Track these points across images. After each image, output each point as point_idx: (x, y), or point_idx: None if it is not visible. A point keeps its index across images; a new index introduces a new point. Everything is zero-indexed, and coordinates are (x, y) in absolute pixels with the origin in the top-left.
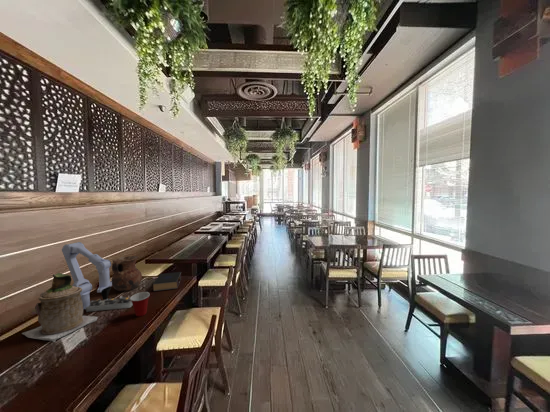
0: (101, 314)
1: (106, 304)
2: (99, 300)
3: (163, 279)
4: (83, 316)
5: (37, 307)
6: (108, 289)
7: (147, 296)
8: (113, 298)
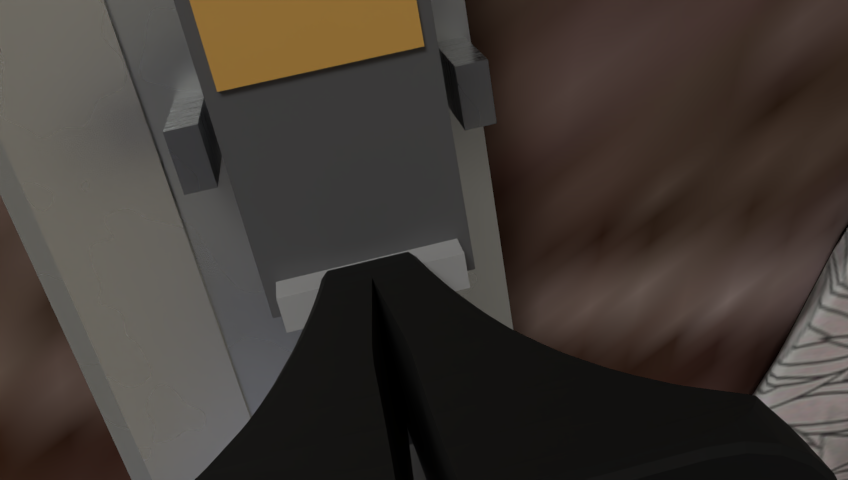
0: (708, 20)
1: (460, 136)
2: (418, 472)
3: None
4: (818, 341)
5: None
6: (665, 453)
7: None
8: (236, 34)
